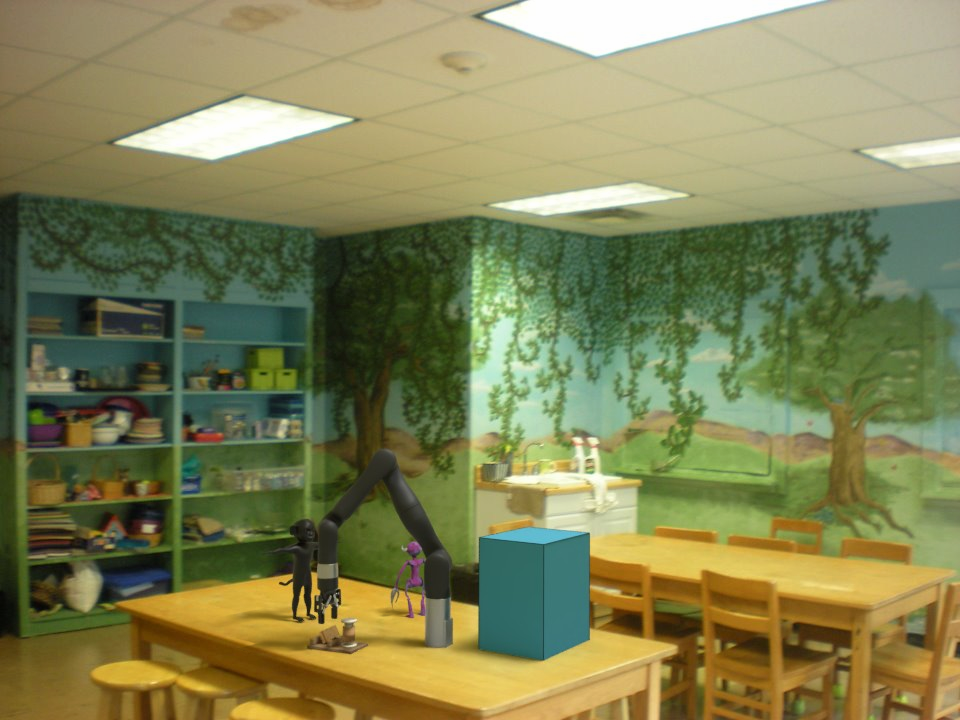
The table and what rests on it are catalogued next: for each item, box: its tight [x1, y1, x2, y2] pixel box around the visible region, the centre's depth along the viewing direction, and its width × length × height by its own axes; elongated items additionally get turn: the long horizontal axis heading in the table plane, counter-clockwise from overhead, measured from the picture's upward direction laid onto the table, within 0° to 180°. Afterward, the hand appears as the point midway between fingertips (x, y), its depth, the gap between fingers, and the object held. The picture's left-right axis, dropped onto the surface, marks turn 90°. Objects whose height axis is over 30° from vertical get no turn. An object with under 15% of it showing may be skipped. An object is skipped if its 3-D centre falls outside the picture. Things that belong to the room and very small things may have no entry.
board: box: [306, 617, 369, 655], centre depth 349 cm, size 18×12×10 cm, turn 66°
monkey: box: [261, 518, 341, 623], centre depth 396 cm, size 40×20×40 cm, turn 140°
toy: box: [390, 541, 426, 619], centre depth 400 cm, size 19×9×30 cm, turn 130°
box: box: [477, 526, 591, 662], centre depth 353 cm, size 27×33×40 cm
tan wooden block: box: [318, 624, 341, 644], centre depth 351 cm, size 4×4×6 cm
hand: (327, 621), depth 351 cm, fingers open, 8 cm apart
